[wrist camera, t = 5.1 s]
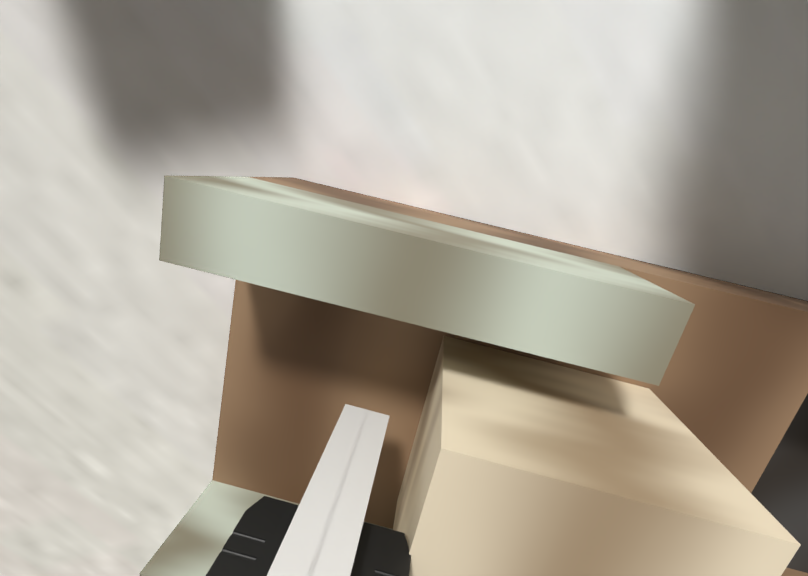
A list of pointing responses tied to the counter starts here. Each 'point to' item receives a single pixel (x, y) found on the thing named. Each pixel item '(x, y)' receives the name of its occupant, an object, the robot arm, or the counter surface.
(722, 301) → the wooden compartment tray
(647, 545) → the birch block
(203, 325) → the counter surface
